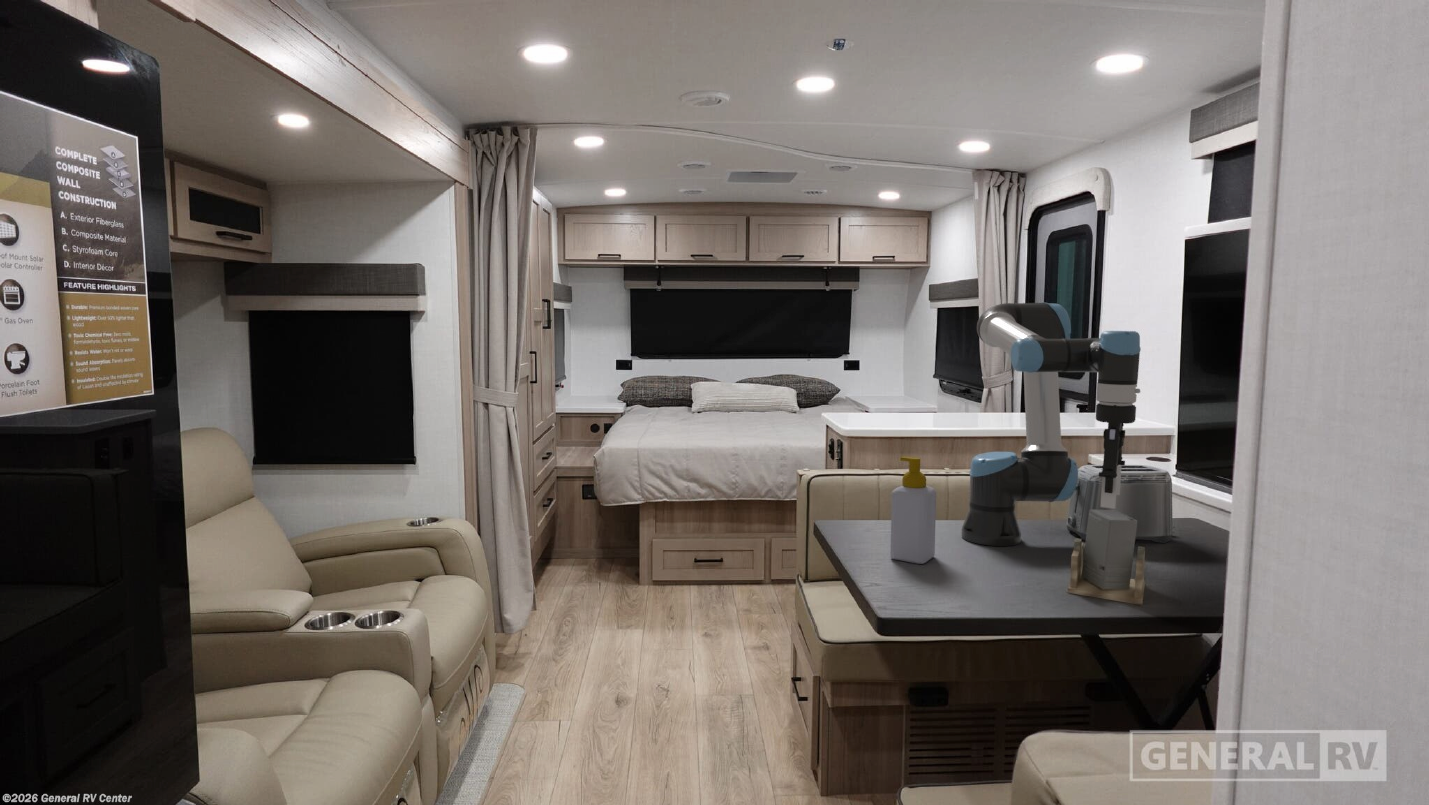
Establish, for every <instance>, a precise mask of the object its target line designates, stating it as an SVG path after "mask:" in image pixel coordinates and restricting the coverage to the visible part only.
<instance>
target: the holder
mask: <svg viewBox="0 0 1429 805" xmlns="http://www.w3.org/2000/svg"><path fill="white" fill-rule="evenodd" d="M1082 541H1083V539H1082V538H1078V537H1076V538H1075V539H1074V544H1073V551H1072V554H1071V556H1070V557H1071V559H1070V577H1069V578H1070V579H1069V580H1070V582H1069V584H1068V586H1067V587H1068V588H1067V593H1068V594H1074V595H1079V596H1085V597H1091V598H1092V597H1093V598H1097V599H1098V598H1099V599H1103V600H1104V599H1105V600H1111V601H1116V602H1123V603H1128V604H1135V605H1140V606H1142V605H1143V602H1144V601H1143V600H1144V595H1145V587H1146V581H1145V580H1144V577H1145V562H1146V561H1145V560H1146V559H1145V557H1146V548H1145V547H1146V546H1137V557H1136V565H1135V578H1131V579H1130V587H1129V589H1127V590H1102V589H1101V588H1099V587H1097V586H1096V585H1094V584H1092V583H1090V582H1089V581H1087V580H1085V579H1083V578H1082V576H1081V575H1082V567H1083V559H1084V546H1085V543H1084V542H1082Z"/></svg>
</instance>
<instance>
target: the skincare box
mask: <svg viewBox="0 0 1429 805" xmlns="http://www.w3.org/2000/svg"><path fill="white" fill-rule="evenodd" d="M1136 529H1137V520H1135V519H1133V518H1131V517H1129V516H1128V515H1126V514H1122V513H1120V512H1118V511H1116V510H1096V509H1092V510H1089V517H1088V525H1087V534H1086V540H1085V543H1084V550H1083V566H1082V575H1081V576H1082V578H1083V579H1085V580H1087V581H1089V582H1090V583H1092V584H1094V585H1096V586H1097V587H1099V588H1101V589H1102V590H1127V589H1129V587H1130V579H1132V578H1131V577H1132V570H1133V569H1132V568H1133V562H1134V561H1133V560H1134V553H1135V552H1134V551H1135V542H1136V539H1135V537H1136Z"/></svg>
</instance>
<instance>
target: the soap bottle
mask: <svg viewBox="0 0 1429 805" xmlns="http://www.w3.org/2000/svg"><path fill="white" fill-rule="evenodd" d="M899 460H900V461H903V462H908V471H907V472H905V473H904V474H903V476H902V481H901V482H902V483H901V484H902V485H900V486H898V487H896V488H894V489H893V490H892V492H891V506H890V507H891V512H890V513H891V515H890V556H889V557H890V558H891V559H893V560H897V561H902V562H908V563H913V564H918V565H919V564H920V565H921V564H922V565H923V564H925V563H927V562H928V561H929V560H931V559H932V558H934V557H935V553H936V522H937V521H936V518H937V516H936V514H937V513H936V512H937V492H936V490H935V488H933V487H931V486H929V485H927V477H926V475H925V474H924V473H923V472H922V471H921V458H920V457H915V456H900V458H899Z"/></svg>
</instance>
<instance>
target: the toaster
mask: <svg viewBox="0 0 1429 805" xmlns="http://www.w3.org/2000/svg"><path fill="white" fill-rule="evenodd" d="M1118 466H1121V481H1120V495H1116V505H1115V509H1113V508H1105V507H1101V490H1102V477H1099V472H1102V471H1103V464H1085V465H1084V464H1083V465H1082V466H1080V467H1079V468H1078V481H1077V486H1076V489H1075V491H1074V493H1073V495H1072V496H1071V497H1070V498H1069V504H1068V509H1067V515H1066V516H1067V517H1066V521H1065V522H1066V523H1065V524H1066V528H1067V531H1068V532H1070V533H1072V532H1073V533H1075V534H1077V535H1078V536H1079V537H1080V539H1082V540H1083V541H1086V534H1087V525H1088V517H1089V510H1092V509H1096V510H1116V511H1118V512H1120V513H1122V514H1126V515H1128V516H1129V517H1131V518H1133V519H1135V520H1137V529H1136V537H1135V540H1144V541H1145V540H1148V541H1152V542H1154V543H1162V544H1166V543H1167V542H1170V541H1171V539H1172V537H1173V534H1174V533H1175V531H1174V530H1173V529H1175V526H1173V482H1172V481H1173V480H1172V477H1171V474H1170V473H1169V471H1167V470H1166V469H1162V468H1160V467H1156V466H1151V465H1147V464H1125V466H1124V465H1118Z"/></svg>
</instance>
